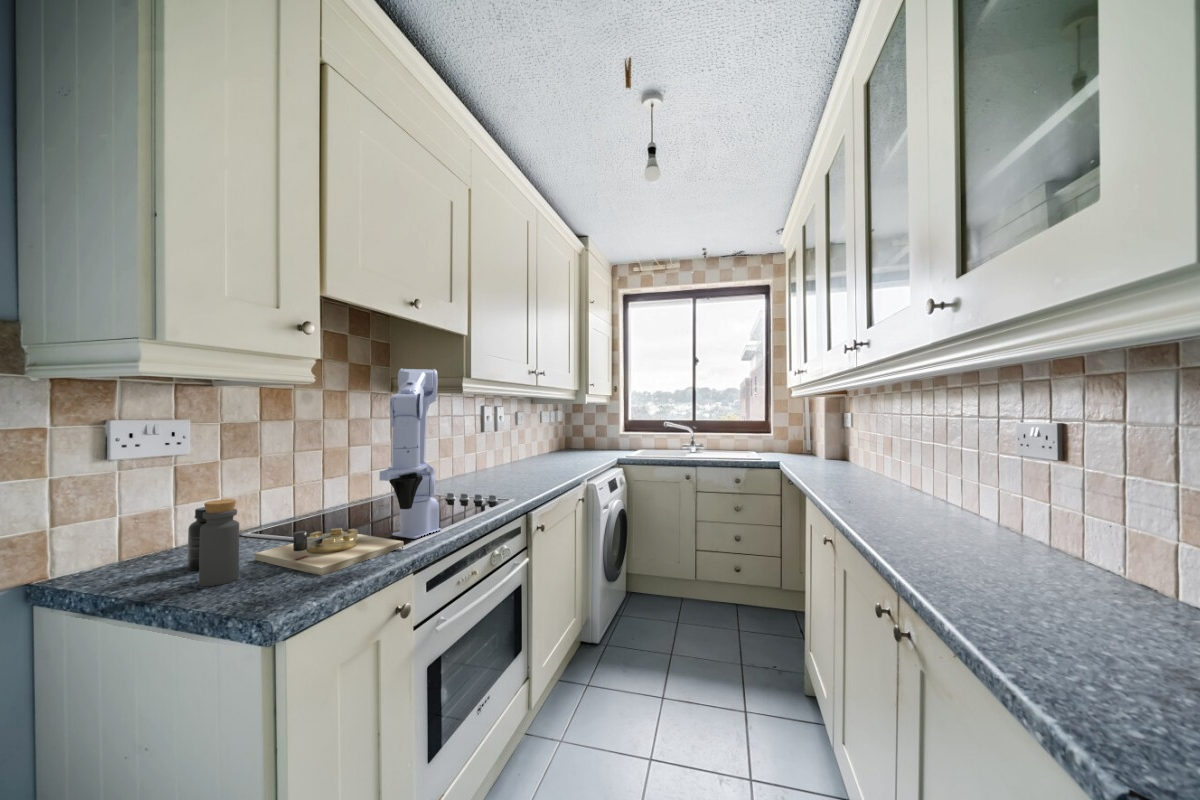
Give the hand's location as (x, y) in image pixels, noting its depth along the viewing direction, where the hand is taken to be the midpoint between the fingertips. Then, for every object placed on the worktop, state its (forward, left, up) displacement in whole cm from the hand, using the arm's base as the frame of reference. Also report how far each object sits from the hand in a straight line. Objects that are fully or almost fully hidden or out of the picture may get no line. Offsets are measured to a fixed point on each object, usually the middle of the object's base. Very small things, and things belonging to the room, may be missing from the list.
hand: (405, 508), depth 104 cm
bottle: (+26, -20, -11) cm, 34 cm away
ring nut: (+9, -15, -9) cm, 20 cm away
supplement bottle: (+22, -32, -11) cm, 40 cm away
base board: (+6, -16, -10) cm, 20 cm away
